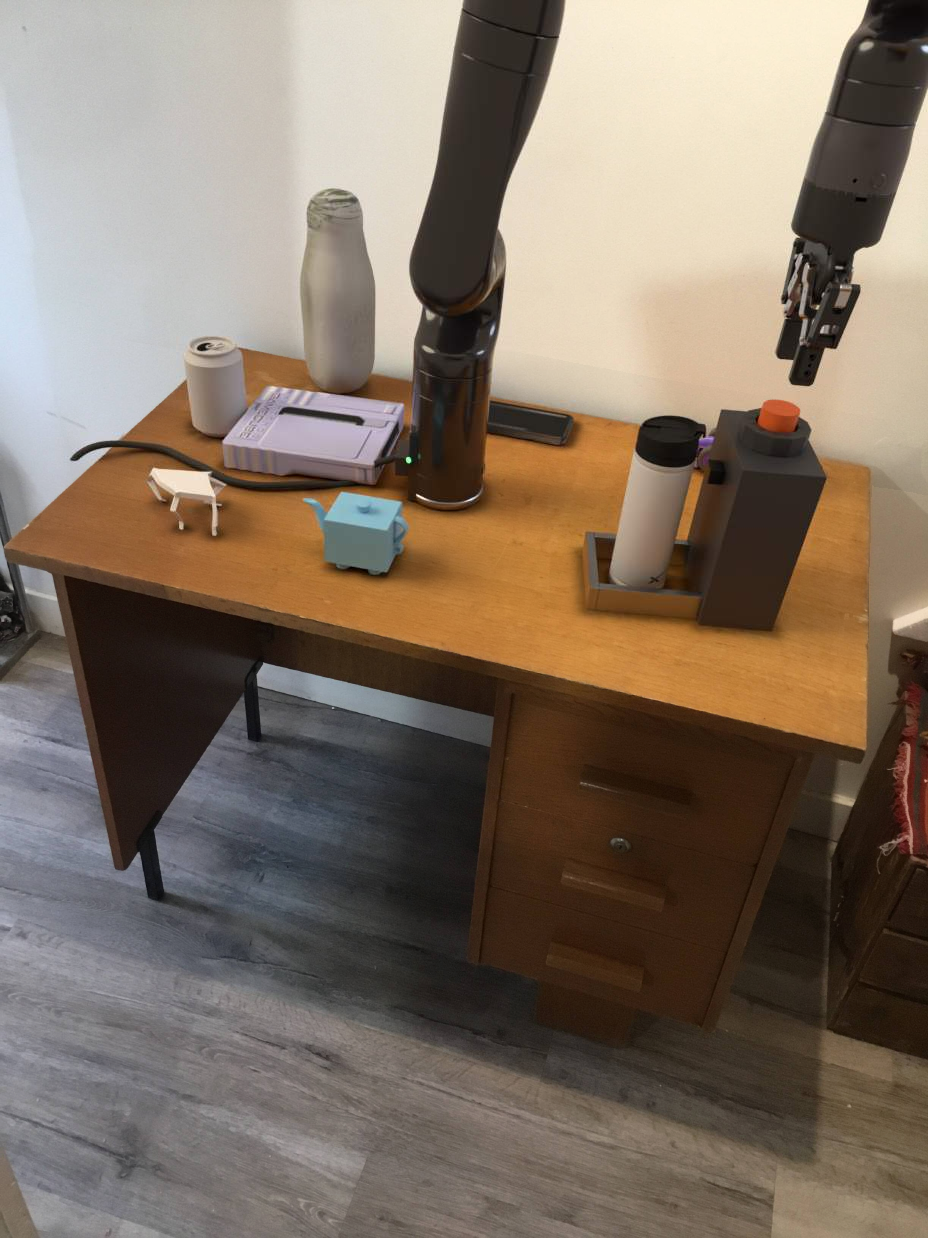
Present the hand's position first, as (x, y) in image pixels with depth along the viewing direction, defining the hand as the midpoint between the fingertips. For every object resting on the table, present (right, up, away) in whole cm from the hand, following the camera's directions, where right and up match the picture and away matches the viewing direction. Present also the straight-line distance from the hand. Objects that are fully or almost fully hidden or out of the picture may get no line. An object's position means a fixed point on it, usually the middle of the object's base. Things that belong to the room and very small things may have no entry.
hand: (792, 370), depth 86 cm
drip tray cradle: (-12, -20, +17) cm, 28 cm away
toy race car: (+7, -3, +40) cm, 40 cm away
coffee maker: (-2, -21, +17) cm, 26 cm away
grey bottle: (-50, +11, +51) cm, 72 cm away
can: (-65, +3, +39) cm, 76 cm away
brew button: (0, -5, +4) cm, 6 cm away
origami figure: (-64, -11, +22) cm, 69 cm away
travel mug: (-12, -20, +17) cm, 28 cm away
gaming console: (-51, 0, +37) cm, 63 cm away
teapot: (-44, -17, +17) cm, 50 cm away
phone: (-23, +4, +45) cm, 51 cm away
